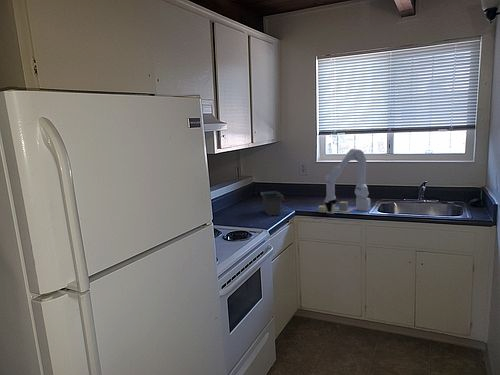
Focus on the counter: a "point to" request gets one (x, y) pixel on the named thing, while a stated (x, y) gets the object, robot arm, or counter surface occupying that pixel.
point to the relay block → (321, 208)
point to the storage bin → (272, 202)
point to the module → (331, 209)
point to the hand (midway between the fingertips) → (330, 210)
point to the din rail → (341, 207)
